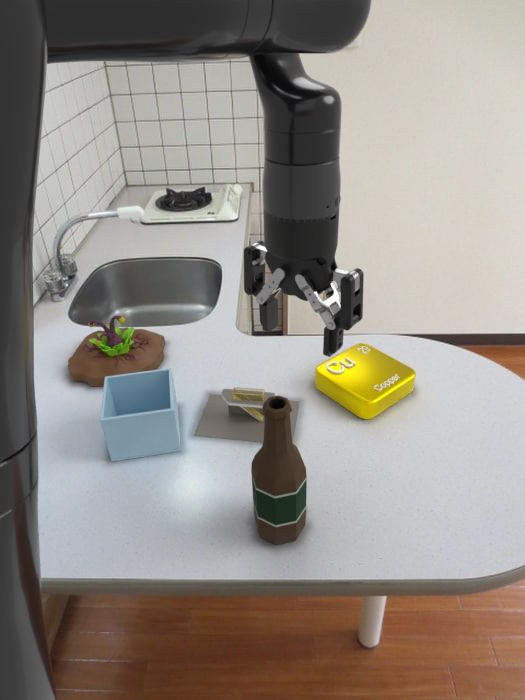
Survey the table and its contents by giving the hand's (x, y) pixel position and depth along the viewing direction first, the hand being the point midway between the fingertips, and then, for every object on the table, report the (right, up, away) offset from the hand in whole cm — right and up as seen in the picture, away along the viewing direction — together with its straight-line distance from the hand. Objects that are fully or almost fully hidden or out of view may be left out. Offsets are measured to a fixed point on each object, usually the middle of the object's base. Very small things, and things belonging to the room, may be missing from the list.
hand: (299, 340), depth 61 cm
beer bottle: (-2, -28, +19) cm, 33 cm away
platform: (-7, -14, +38) cm, 41 cm away
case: (-26, -16, +36) cm, 47 cm away
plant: (-36, -3, +56) cm, 66 cm away
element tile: (+16, -9, +45) cm, 48 cm away
